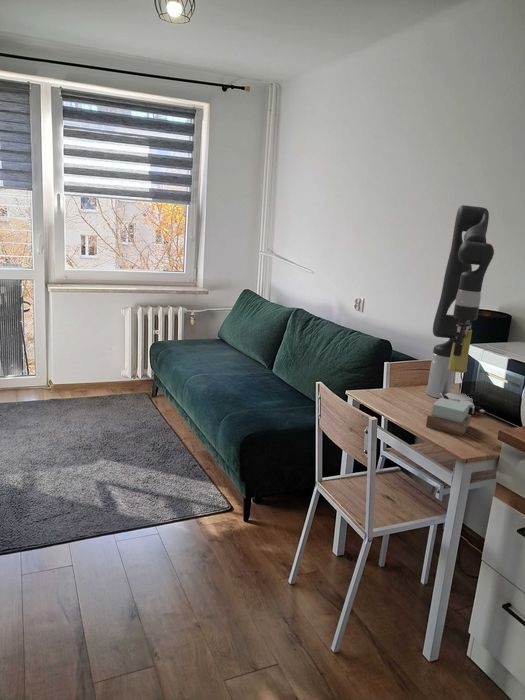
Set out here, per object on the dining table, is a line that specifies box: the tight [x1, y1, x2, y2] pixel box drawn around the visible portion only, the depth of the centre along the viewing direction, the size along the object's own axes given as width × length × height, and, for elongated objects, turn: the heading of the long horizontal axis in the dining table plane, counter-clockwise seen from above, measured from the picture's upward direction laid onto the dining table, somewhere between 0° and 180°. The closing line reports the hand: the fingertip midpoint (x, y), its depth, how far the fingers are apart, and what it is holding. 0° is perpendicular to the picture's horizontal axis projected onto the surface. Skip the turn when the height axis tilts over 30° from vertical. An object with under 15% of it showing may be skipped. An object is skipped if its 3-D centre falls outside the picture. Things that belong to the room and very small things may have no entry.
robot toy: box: [440, 392, 486, 414], centre depth 211 cm, size 12×4×15 cm
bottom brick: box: [425, 411, 472, 437], centre depth 191 cm, size 12×12×4 cm
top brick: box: [431, 398, 470, 423], centre depth 190 cm, size 10×10×4 cm
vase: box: [448, 328, 473, 374], centre depth 185 cm, size 6×6×14 cm
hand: (458, 354), depth 185 cm, fingers closed on vase, 5 cm apart
